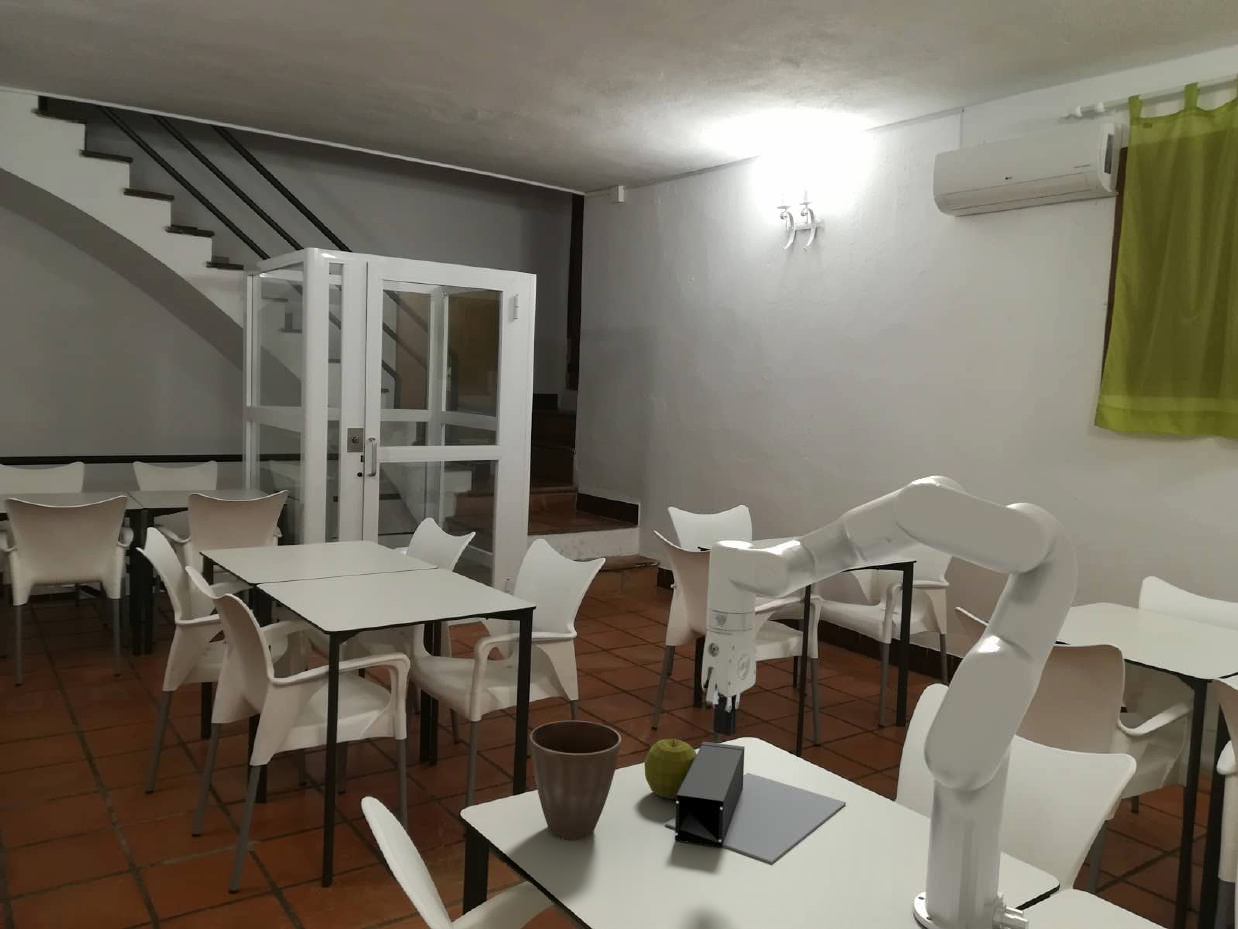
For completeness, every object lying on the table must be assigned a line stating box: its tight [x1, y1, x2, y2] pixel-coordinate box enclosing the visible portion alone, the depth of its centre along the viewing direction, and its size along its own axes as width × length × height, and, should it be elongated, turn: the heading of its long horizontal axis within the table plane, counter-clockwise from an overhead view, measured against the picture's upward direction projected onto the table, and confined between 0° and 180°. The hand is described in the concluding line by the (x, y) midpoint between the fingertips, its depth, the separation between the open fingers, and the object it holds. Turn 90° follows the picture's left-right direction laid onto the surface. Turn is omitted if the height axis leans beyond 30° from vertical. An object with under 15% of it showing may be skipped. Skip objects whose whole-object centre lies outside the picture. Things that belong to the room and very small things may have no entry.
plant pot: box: [529, 720, 622, 841], centre depth 158 cm, size 15×15×16 cm
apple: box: [644, 736, 697, 800], centre depth 174 cm, size 10×10×11 cm
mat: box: [664, 772, 847, 865], centre depth 168 cm, size 20×29×1 cm
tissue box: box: [674, 741, 746, 848], centre depth 169 cm, size 8×8×28 cm
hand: (724, 732), depth 153 cm, fingers closed
